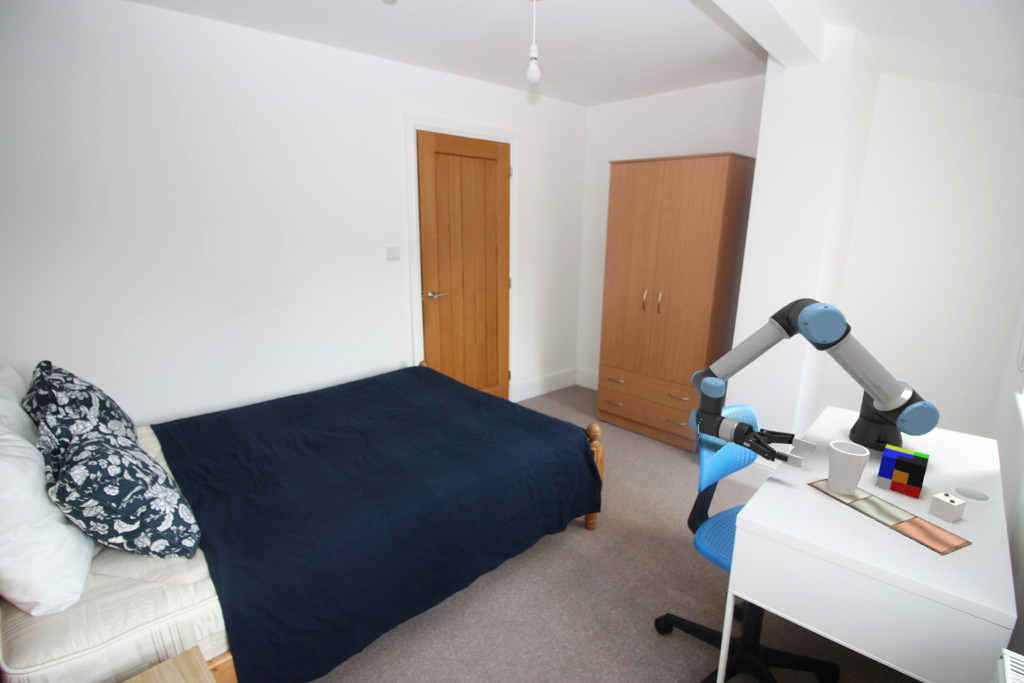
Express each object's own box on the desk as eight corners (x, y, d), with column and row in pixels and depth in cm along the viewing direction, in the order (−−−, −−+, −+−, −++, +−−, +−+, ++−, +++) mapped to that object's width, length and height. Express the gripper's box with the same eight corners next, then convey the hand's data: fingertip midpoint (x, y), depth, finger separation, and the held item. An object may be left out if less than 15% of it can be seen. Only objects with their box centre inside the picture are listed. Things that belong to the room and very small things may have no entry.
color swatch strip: (834, 476, 149) (834, 476, 149) (972, 543, 118) (972, 542, 118) (807, 484, 144) (807, 483, 144) (943, 555, 114) (943, 554, 114)
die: (939, 508, 133) (944, 490, 132) (961, 518, 129) (966, 499, 127) (928, 512, 131) (933, 493, 130) (950, 522, 127) (955, 503, 125)
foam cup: (821, 478, 147) (829, 438, 144) (859, 486, 143) (867, 445, 140) (822, 492, 139) (830, 450, 136) (861, 502, 135) (871, 458, 132)
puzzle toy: (875, 486, 144) (882, 455, 142) (880, 474, 151) (886, 444, 149) (918, 499, 138) (926, 466, 135) (922, 486, 145) (929, 455, 142)
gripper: (750, 432, 170) (819, 454, 155) (718, 454, 154) (791, 480, 139) (753, 412, 168) (823, 432, 153) (721, 432, 152) (796, 456, 137)
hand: (809, 455), depth 146 cm, fingers open, 13 cm apart
